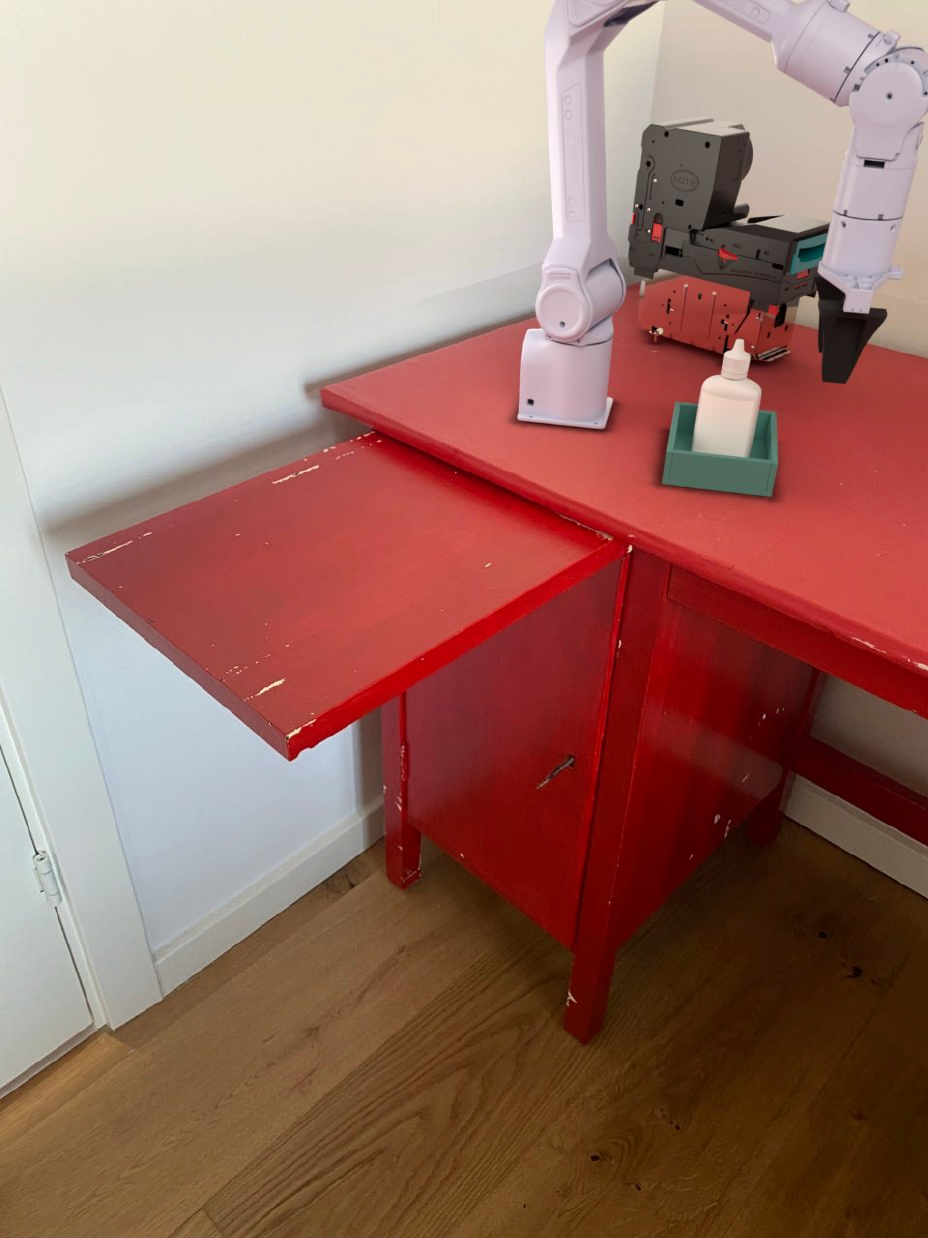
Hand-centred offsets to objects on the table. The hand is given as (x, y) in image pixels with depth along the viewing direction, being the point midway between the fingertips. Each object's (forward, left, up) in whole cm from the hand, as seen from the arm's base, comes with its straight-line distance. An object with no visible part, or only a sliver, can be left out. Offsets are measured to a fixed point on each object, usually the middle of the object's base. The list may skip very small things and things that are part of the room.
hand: (831, 366), depth 91 cm
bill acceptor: (-11, +33, -10) cm, 36 cm away
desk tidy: (-9, -1, -10) cm, 14 cm away
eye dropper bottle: (-9, -1, -10) cm, 13 cm away
